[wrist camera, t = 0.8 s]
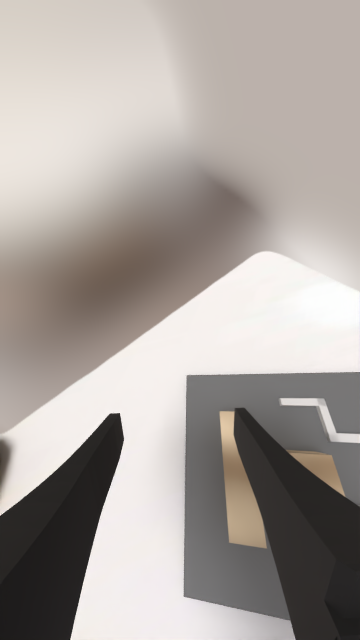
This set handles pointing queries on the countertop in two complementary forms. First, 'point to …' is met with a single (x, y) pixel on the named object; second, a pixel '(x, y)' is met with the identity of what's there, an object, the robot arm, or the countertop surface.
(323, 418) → the nest mat
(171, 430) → the countertop surface
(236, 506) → the maple t block
